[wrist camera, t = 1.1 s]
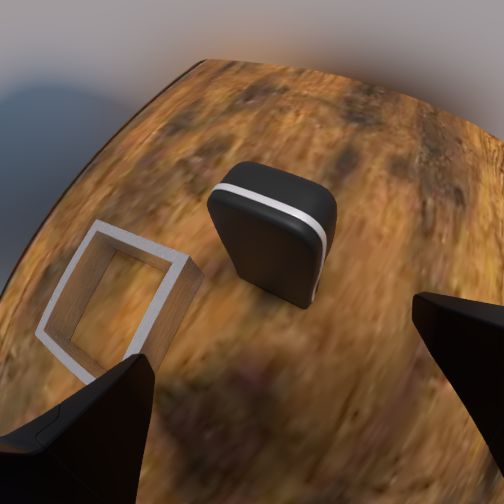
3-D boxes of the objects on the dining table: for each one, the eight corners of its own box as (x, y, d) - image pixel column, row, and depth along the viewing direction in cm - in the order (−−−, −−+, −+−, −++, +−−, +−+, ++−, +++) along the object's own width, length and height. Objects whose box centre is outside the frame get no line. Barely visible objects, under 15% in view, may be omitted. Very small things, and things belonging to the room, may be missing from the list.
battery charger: (329, 273, 23) (351, 181, 13) (309, 312, 22) (322, 241, 12) (257, 241, 26) (233, 143, 16) (235, 276, 24) (194, 189, 14)
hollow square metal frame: (204, 276, 25) (189, 255, 21) (139, 406, 20) (113, 407, 16) (116, 239, 28) (96, 219, 25) (60, 343, 23) (34, 333, 20)
